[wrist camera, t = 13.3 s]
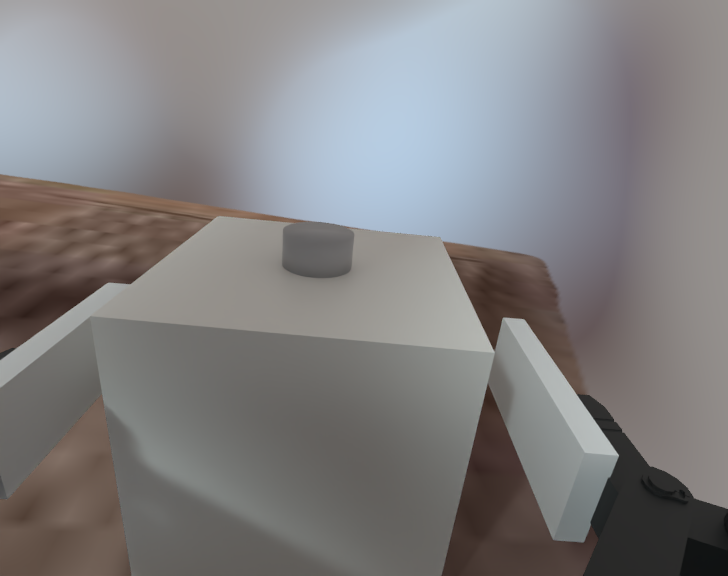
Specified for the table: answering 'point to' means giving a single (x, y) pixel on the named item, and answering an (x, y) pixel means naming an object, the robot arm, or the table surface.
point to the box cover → (292, 402)
